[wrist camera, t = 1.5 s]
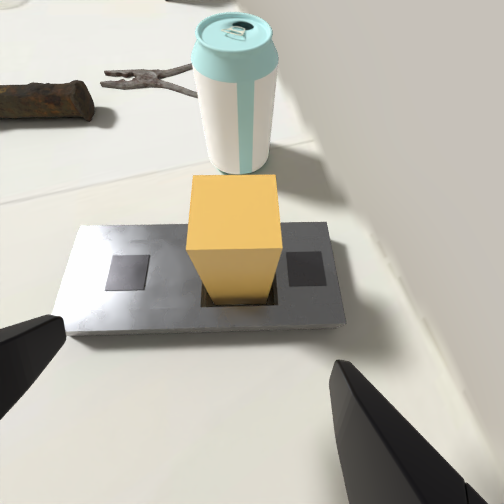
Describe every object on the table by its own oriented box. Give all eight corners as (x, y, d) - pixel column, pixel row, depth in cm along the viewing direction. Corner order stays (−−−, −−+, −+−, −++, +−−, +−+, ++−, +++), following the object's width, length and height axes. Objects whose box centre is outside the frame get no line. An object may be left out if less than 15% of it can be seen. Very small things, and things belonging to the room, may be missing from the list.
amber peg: (265, 303, 21) (282, 248, 11) (214, 305, 21) (185, 250, 11) (263, 257, 23) (275, 174, 13) (216, 257, 23) (193, 175, 13)
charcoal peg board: (335, 328, 20) (346, 323, 18) (68, 336, 20) (45, 331, 17) (319, 235, 24) (326, 221, 22) (96, 239, 24) (79, 225, 21)
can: (205, 139, 30) (181, 10, 19) (260, 132, 31) (268, 3, 20) (214, 183, 27) (192, 59, 16) (274, 173, 28) (293, 49, 17)
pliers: (251, 93, 33) (99, 113, 31) (251, 99, 34) (102, 119, 32) (235, 55, 37) (100, 70, 35) (236, 61, 38) (103, 77, 36)
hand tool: (100, 106, 33) (79, 67, 28) (93, 125, 31) (69, 88, 27) (-45, 107, 32) (-89, 67, 28) (-61, 127, 30) (-110, 88, 26)
